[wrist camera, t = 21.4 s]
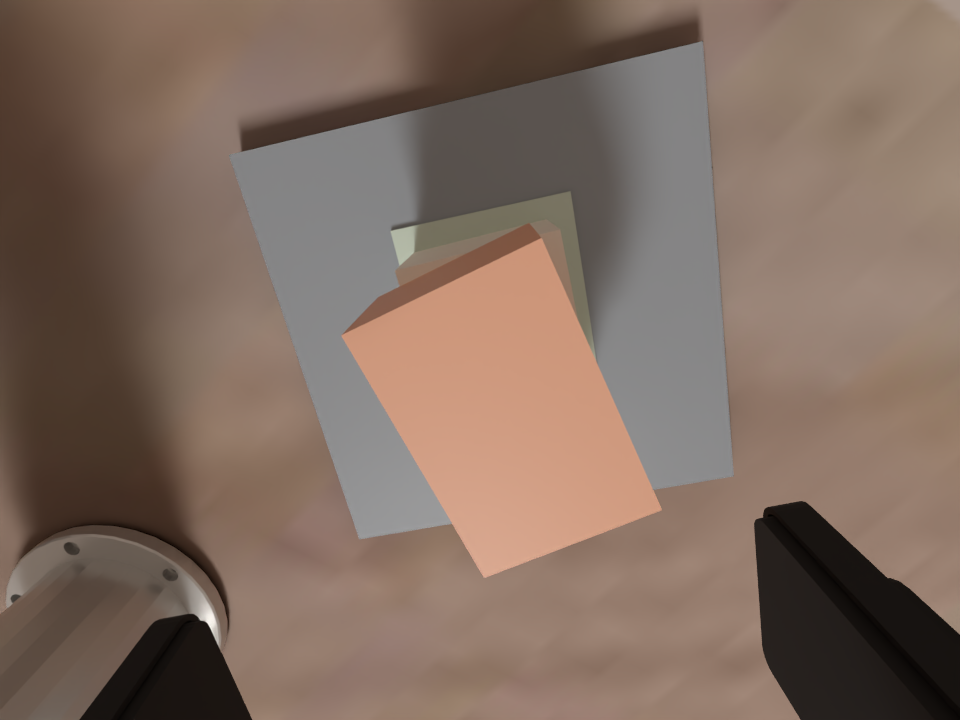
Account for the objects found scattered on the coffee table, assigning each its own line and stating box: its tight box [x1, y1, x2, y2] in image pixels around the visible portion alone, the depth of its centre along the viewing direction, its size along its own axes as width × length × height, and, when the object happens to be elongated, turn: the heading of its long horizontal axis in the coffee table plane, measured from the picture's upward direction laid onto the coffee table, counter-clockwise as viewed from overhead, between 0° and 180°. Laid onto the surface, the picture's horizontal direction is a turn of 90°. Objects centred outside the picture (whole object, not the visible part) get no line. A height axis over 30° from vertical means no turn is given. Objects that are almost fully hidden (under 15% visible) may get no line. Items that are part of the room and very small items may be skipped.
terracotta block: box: [341, 223, 662, 578], centre depth 18 cm, size 9×6×5 cm, turn 26°
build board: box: [229, 41, 734, 539], centre depth 25 cm, size 20×20×1 cm
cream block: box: [395, 219, 578, 319], centre depth 22 cm, size 9×6×5 cm, turn 14°
